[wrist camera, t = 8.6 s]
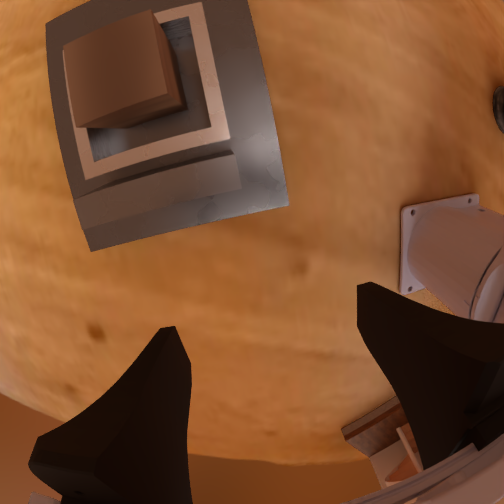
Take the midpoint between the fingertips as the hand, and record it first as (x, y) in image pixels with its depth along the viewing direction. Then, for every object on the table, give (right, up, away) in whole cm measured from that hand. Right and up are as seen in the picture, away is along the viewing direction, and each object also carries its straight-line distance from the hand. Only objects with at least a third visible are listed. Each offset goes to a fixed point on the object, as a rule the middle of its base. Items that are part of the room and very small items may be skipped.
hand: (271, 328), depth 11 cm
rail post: (-7, +13, +4) cm, 15 cm away
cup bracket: (-7, +13, +5) cm, 16 cm away
